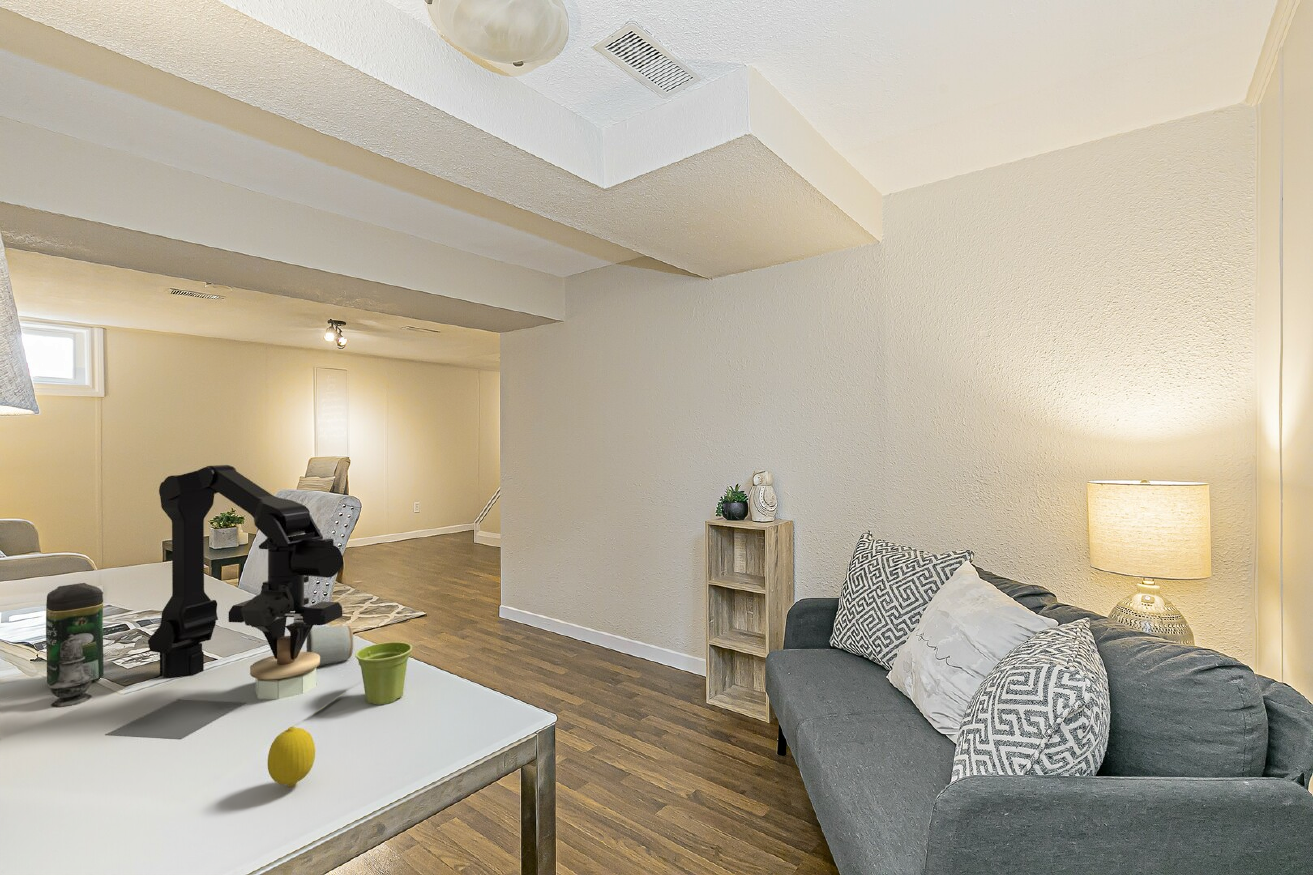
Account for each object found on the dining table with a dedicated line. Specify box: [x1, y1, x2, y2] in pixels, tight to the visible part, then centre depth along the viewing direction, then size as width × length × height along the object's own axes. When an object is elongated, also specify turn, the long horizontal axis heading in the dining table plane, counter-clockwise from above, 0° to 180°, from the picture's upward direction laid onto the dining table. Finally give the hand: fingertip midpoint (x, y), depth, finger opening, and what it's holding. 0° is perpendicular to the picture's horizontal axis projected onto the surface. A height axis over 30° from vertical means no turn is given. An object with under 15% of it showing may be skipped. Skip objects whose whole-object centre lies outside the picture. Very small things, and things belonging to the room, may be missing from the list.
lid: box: [249, 635, 320, 679], centre depth 113 cm, size 11×11×5 cm
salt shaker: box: [48, 634, 94, 708], centre depth 110 cm, size 6×6×12 cm
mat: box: [104, 698, 247, 740], centre depth 101 cm, size 13×13×1 cm
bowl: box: [254, 667, 317, 700], centre depth 113 cm, size 9×9×4 cm
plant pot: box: [354, 641, 413, 706], centre depth 111 cm, size 9×9×9 cm
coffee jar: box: [45, 582, 105, 685], centre depth 119 cm, size 10×8×19 cm
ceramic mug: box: [305, 625, 354, 667], centre depth 130 cm, size 11×8×8 cm
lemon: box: [267, 726, 316, 788], centre depth 83 cm, size 6×6×8 cm
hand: (286, 658), depth 113 cm, fingers closed on lid, 3 cm apart
